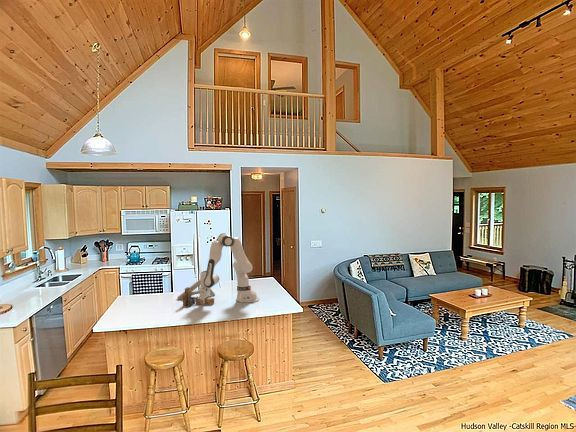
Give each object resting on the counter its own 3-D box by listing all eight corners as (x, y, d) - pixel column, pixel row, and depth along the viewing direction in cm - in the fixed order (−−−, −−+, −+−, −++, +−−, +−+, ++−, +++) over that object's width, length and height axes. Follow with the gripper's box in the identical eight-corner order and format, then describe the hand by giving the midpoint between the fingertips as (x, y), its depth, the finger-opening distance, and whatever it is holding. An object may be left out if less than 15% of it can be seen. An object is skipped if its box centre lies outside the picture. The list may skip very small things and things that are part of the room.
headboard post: (196, 301, 323) (195, 285, 322) (190, 307, 307) (189, 290, 306) (189, 301, 323) (189, 285, 323) (183, 307, 307) (182, 290, 307)
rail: (214, 303, 318) (214, 296, 318) (213, 304, 314) (213, 297, 314) (197, 303, 319) (197, 296, 319) (196, 304, 316) (195, 297, 316)
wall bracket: (191, 312, 340) (214, 293, 347) (191, 314, 336) (215, 294, 343) (177, 296, 335) (201, 277, 342) (177, 298, 331) (201, 278, 338)
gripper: (205, 284, 326) (205, 298, 327) (198, 290, 306) (198, 305, 307) (211, 284, 326) (212, 298, 327) (205, 290, 306) (205, 305, 306)
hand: (205, 301), depth 316 cm, fingers open, 7 cm apart
